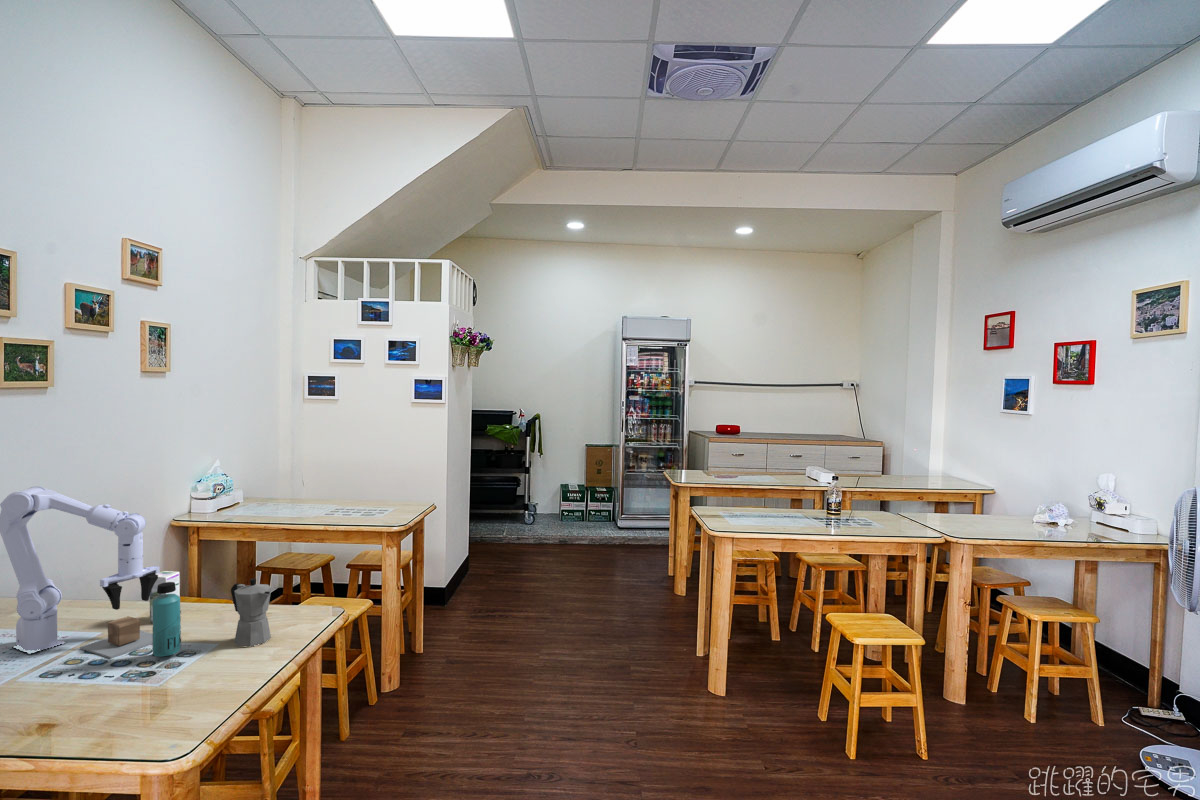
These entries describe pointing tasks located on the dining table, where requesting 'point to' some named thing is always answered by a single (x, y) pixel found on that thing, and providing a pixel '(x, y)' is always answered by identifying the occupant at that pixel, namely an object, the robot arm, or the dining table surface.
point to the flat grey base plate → (114, 650)
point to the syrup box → (162, 578)
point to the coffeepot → (251, 613)
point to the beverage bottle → (166, 621)
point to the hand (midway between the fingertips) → (130, 604)
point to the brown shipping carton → (123, 630)
